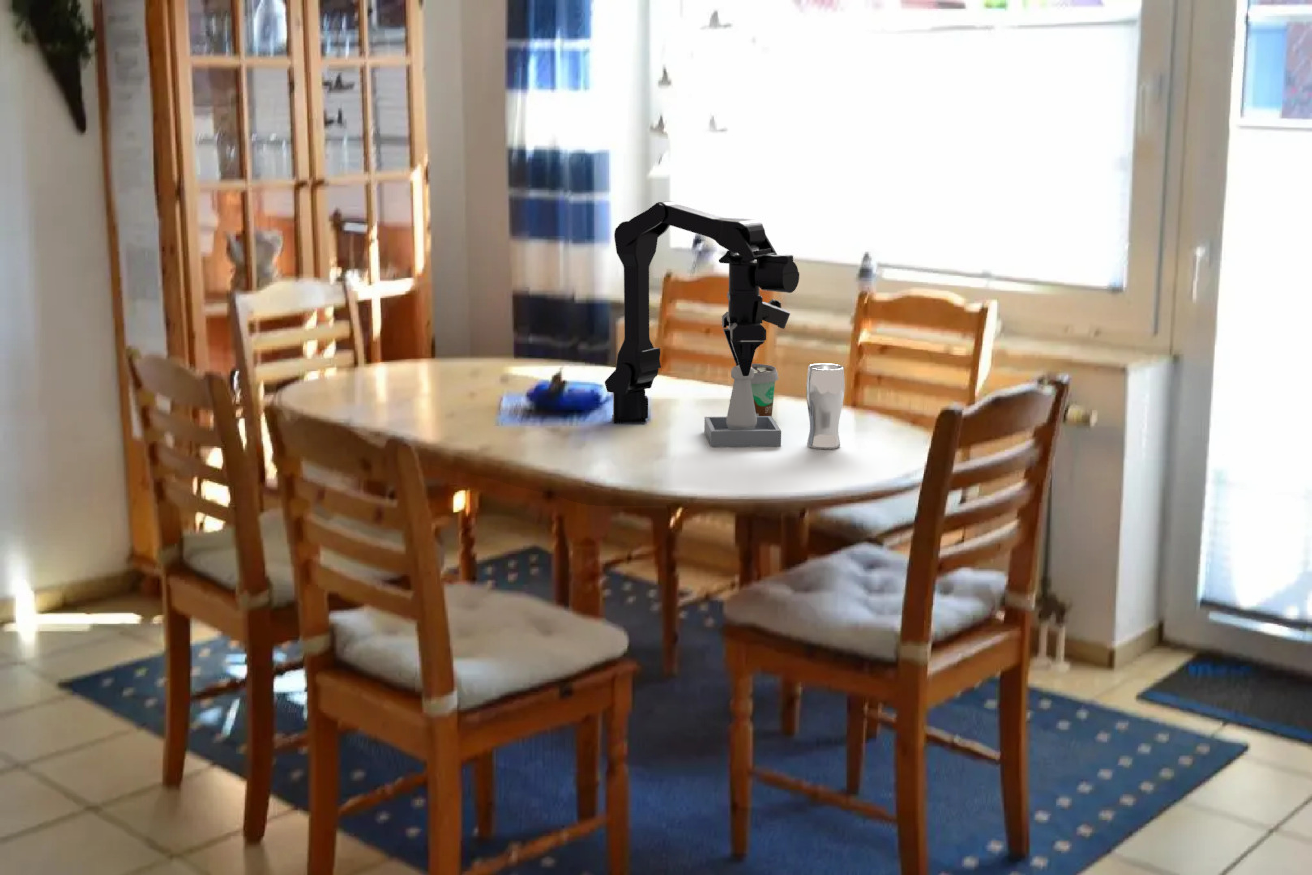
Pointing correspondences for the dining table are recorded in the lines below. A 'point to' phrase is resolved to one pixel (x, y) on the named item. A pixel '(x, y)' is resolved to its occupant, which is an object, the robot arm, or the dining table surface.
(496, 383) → the dining table surface
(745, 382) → the salt shaker
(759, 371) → the food container
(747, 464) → the dining table surface
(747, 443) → the bin
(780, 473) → the dining table surface
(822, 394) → the beer glass
